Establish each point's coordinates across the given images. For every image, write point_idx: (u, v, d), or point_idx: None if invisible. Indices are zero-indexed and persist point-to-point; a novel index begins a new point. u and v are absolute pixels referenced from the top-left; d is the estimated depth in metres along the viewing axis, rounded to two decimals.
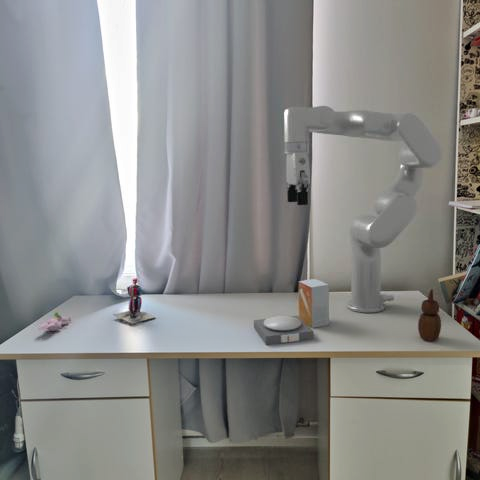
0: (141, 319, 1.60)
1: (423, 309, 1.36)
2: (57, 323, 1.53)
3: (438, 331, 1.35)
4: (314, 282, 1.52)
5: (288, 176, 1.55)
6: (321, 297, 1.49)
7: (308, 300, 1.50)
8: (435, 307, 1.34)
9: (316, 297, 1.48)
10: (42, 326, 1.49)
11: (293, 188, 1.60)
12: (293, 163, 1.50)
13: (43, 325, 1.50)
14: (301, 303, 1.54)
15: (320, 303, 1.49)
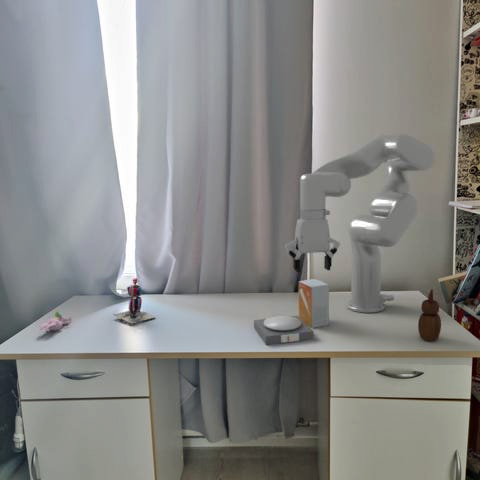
0: (141, 319, 1.60)
1: (423, 309, 1.36)
2: (58, 323, 1.53)
3: (438, 331, 1.35)
4: (314, 282, 1.52)
5: (310, 244, 1.47)
6: (321, 297, 1.49)
7: (308, 300, 1.50)
8: (435, 307, 1.34)
9: (316, 297, 1.48)
10: (43, 326, 1.49)
11: None
12: (325, 230, 1.47)
13: (44, 325, 1.50)
14: (301, 303, 1.54)
15: (320, 303, 1.49)
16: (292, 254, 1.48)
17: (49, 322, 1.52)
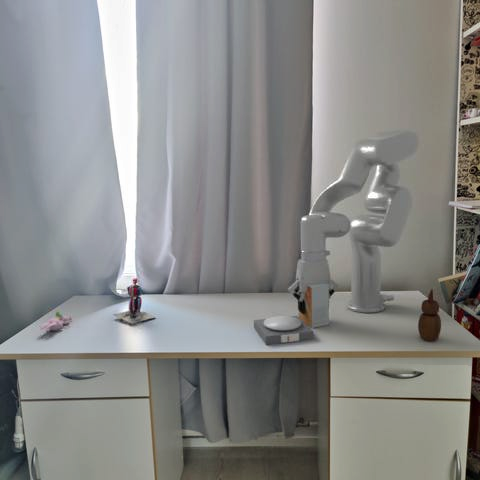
0: (141, 319, 1.60)
1: (423, 309, 1.36)
2: (59, 322, 1.54)
3: (438, 331, 1.35)
4: None
5: None
6: (321, 297, 1.49)
7: (308, 300, 1.50)
8: (435, 307, 1.34)
9: (316, 297, 1.48)
10: (44, 325, 1.50)
11: None
12: (326, 270, 1.50)
13: (45, 324, 1.50)
14: None
15: (320, 303, 1.49)
16: (296, 296, 1.50)
17: (50, 322, 1.52)
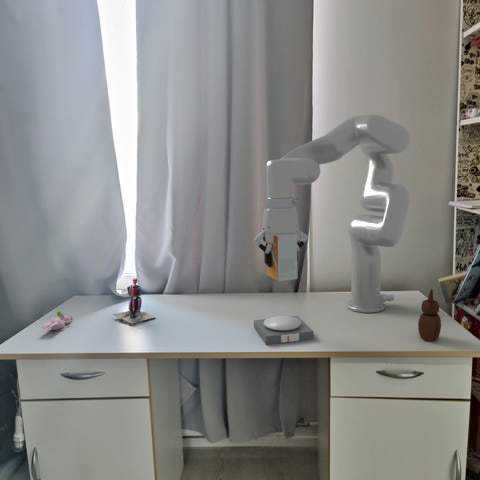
0: (141, 319, 1.60)
1: (423, 309, 1.36)
2: (60, 322, 1.54)
3: (438, 331, 1.35)
4: None
5: None
6: (288, 248, 1.38)
7: (274, 251, 1.38)
8: (435, 307, 1.34)
9: (283, 247, 1.37)
10: (46, 325, 1.50)
11: None
12: (294, 219, 1.38)
13: (47, 324, 1.51)
14: None
15: (288, 254, 1.38)
16: (262, 247, 1.39)
17: (52, 321, 1.53)
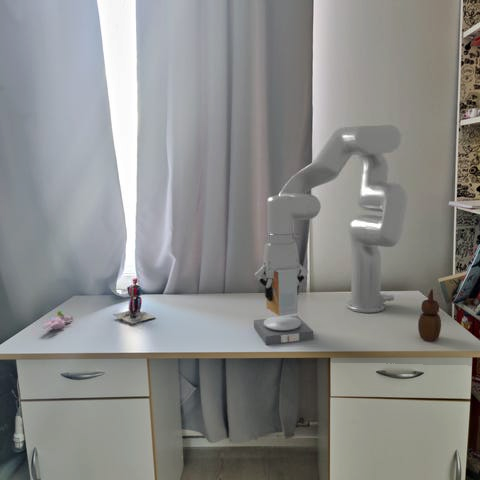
0: (141, 319, 1.60)
1: (423, 309, 1.36)
2: (61, 322, 1.54)
3: (438, 331, 1.35)
4: None
5: None
6: (289, 283, 1.39)
7: (275, 286, 1.40)
8: (435, 307, 1.34)
9: (283, 282, 1.39)
10: (47, 325, 1.50)
11: None
12: (294, 255, 1.40)
13: (47, 324, 1.51)
14: None
15: (288, 289, 1.40)
16: (263, 282, 1.41)
17: (52, 321, 1.53)
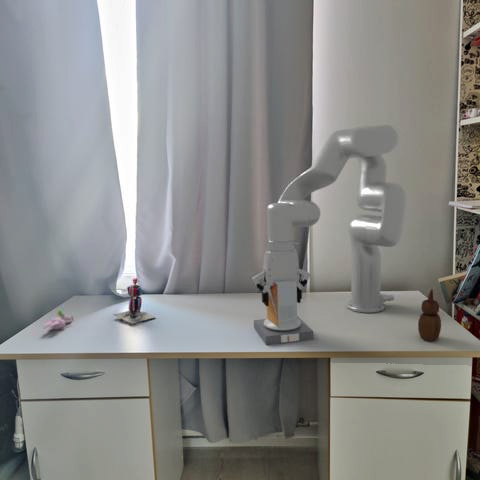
0: (141, 319, 1.60)
1: (423, 309, 1.36)
2: (61, 321, 1.55)
3: (438, 331, 1.35)
4: None
5: (278, 277, 1.40)
6: (288, 295, 1.40)
7: (274, 297, 1.41)
8: (435, 307, 1.34)
9: (282, 294, 1.39)
10: (47, 324, 1.50)
11: None
12: (294, 262, 1.41)
13: (48, 323, 1.51)
14: (269, 301, 1.45)
15: (288, 301, 1.40)
16: (260, 287, 1.41)
17: (52, 321, 1.53)
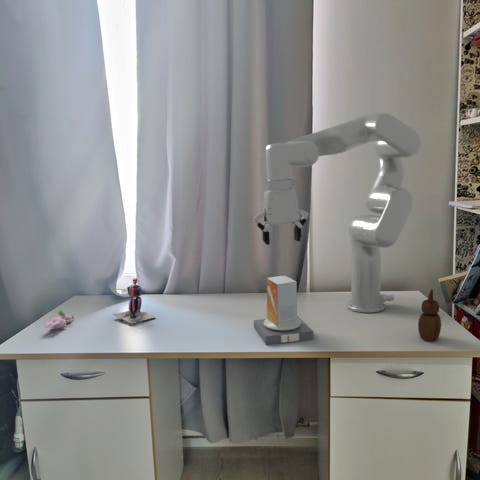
0: (141, 319, 1.60)
1: (423, 309, 1.36)
2: (62, 321, 1.55)
3: (438, 331, 1.35)
4: (282, 279, 1.43)
5: (278, 215, 1.45)
6: (288, 295, 1.40)
7: (274, 297, 1.41)
8: (435, 307, 1.34)
9: (282, 294, 1.39)
10: (48, 324, 1.51)
11: None
12: (293, 200, 1.45)
13: (49, 323, 1.51)
14: (269, 301, 1.45)
15: (288, 301, 1.40)
16: (261, 226, 1.45)
17: (53, 320, 1.54)
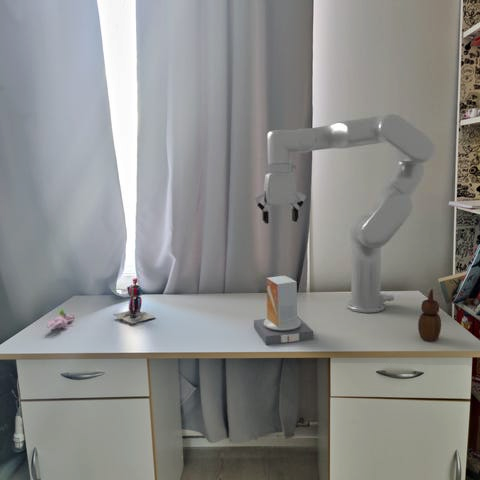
0: (141, 319, 1.60)
1: (423, 309, 1.36)
2: (64, 321, 1.55)
3: (438, 331, 1.35)
4: (282, 279, 1.43)
5: (277, 197, 1.57)
6: (288, 295, 1.40)
7: (274, 297, 1.41)
8: (435, 307, 1.34)
9: (282, 294, 1.39)
10: (50, 324, 1.51)
11: None
12: (292, 183, 1.57)
13: (51, 323, 1.52)
14: (269, 301, 1.45)
15: (288, 301, 1.40)
16: (261, 206, 1.58)
17: (55, 320, 1.54)
